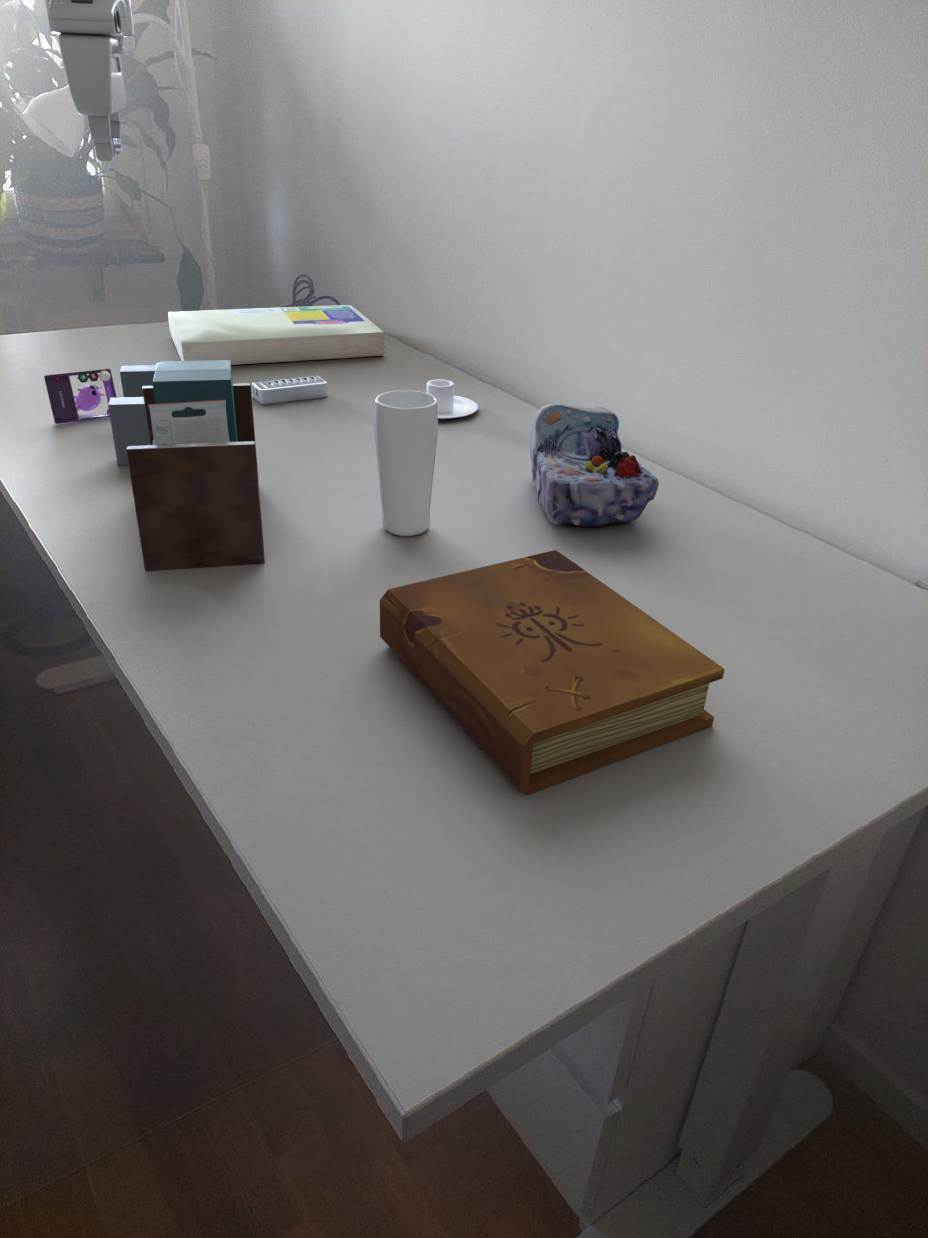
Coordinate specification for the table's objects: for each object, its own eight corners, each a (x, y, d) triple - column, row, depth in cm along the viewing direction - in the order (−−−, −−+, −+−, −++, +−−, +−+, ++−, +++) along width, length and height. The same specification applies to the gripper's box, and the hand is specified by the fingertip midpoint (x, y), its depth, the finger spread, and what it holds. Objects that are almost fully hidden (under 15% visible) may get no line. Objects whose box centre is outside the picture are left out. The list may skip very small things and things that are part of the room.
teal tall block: (170, 513, 105) (152, 381, 98) (173, 486, 112) (157, 361, 104) (242, 509, 107) (230, 379, 99) (241, 483, 114) (230, 359, 106)
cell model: (607, 390, 118) (676, 447, 102) (597, 469, 124) (661, 536, 108) (509, 393, 115) (564, 453, 99) (503, 475, 121) (554, 544, 105)
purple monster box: (44, 374, 130) (111, 368, 134) (40, 378, 135) (105, 371, 139) (55, 423, 132) (121, 415, 136) (51, 425, 136) (115, 417, 140)
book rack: (144, 571, 95) (126, 449, 89) (157, 492, 113) (142, 385, 106) (264, 563, 98) (255, 444, 91) (259, 487, 115) (250, 382, 109)
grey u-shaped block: (117, 465, 120) (108, 404, 116) (130, 420, 135) (121, 365, 131) (174, 463, 121) (166, 402, 117) (180, 419, 136) (173, 364, 132)
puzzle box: (169, 336, 178) (182, 368, 159) (166, 311, 176) (178, 341, 156) (354, 327, 189) (387, 357, 170) (354, 304, 187) (387, 331, 168)
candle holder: (384, 407, 144) (384, 379, 142) (443, 394, 151) (444, 367, 149) (434, 428, 137) (434, 399, 135) (493, 413, 144) (495, 385, 142)
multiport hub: (328, 396, 148) (327, 382, 147) (261, 404, 143) (260, 389, 142) (318, 389, 151) (317, 374, 150) (252, 396, 147) (251, 382, 146)
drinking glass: (396, 546, 102) (396, 412, 95) (365, 524, 107) (362, 395, 99) (447, 532, 106) (451, 402, 98) (414, 511, 110) (415, 386, 103)
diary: (380, 647, 84) (379, 590, 81) (550, 602, 93) (555, 549, 90) (519, 798, 67) (524, 734, 64) (712, 726, 76) (725, 666, 73)
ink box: (163, 524, 103) (145, 393, 95) (237, 517, 105) (224, 389, 97) (164, 538, 100) (145, 404, 92) (240, 531, 102) (228, 399, 94)
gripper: (73, 19, 111) (92, 149, 118) (45, 10, 93) (70, 163, 100) (129, 21, 112) (145, 150, 119) (111, 13, 95) (131, 164, 102)
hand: (110, 156), depth 110 cm, fingers open, 8 cm apart
